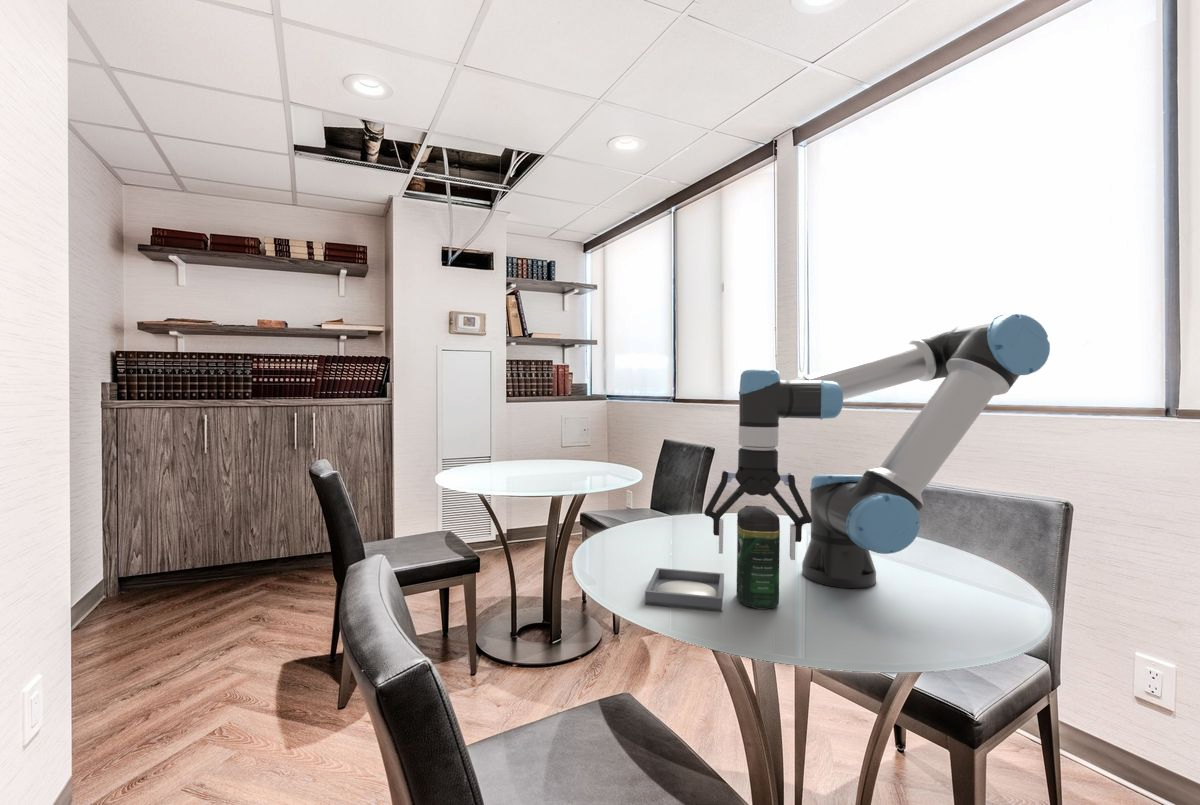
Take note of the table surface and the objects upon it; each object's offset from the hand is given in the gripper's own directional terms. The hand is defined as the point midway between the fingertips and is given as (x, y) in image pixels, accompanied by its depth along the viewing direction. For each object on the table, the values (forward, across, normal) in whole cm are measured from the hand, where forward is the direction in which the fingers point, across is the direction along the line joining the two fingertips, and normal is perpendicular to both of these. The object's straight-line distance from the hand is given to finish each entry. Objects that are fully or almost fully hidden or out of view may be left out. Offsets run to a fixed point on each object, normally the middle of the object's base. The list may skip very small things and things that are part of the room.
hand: (756, 554), depth 105 cm
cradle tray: (+9, +14, 0) cm, 16 cm away
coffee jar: (+9, 0, 0) cm, 9 cm away
